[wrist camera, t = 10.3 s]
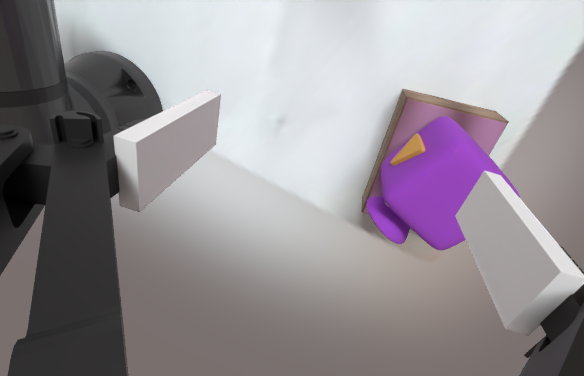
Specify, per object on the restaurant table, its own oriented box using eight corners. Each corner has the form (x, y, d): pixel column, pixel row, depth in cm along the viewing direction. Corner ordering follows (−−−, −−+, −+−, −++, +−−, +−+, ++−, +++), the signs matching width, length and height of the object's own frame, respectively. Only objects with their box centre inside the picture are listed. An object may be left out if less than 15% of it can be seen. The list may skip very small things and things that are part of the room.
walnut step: (362, 197, 46) (361, 213, 42) (402, 88, 37) (406, 97, 34) (437, 218, 44) (443, 236, 41) (495, 111, 36) (510, 122, 32)
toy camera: (352, 188, 40) (347, 235, 32) (427, 99, 33) (446, 128, 25) (419, 231, 41) (431, 287, 33) (506, 153, 34) (551, 199, 25)
